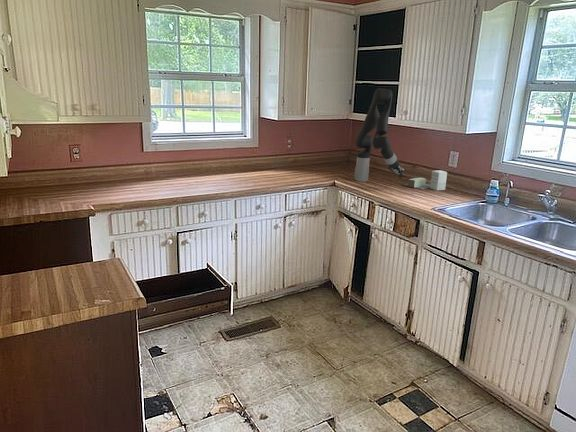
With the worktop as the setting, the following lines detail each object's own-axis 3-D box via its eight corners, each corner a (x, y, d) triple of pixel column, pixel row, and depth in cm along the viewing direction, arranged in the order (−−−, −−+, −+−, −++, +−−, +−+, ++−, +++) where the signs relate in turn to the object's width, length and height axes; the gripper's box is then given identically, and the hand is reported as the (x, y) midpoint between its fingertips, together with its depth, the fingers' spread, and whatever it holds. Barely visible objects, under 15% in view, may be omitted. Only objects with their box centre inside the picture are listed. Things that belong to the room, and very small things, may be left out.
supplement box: (438, 187, 313) (440, 170, 310) (445, 190, 307) (447, 172, 303) (429, 188, 311) (431, 170, 307) (436, 190, 304) (439, 172, 300)
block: (408, 179, 311) (419, 177, 319) (407, 186, 313) (419, 184, 320) (414, 180, 307) (425, 178, 315) (413, 187, 309) (425, 185, 317)
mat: (403, 185, 318) (403, 184, 318) (417, 182, 328) (417, 182, 328) (422, 189, 306) (422, 188, 306) (436, 186, 316) (436, 186, 316)
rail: (417, 182, 328) (418, 179, 327) (419, 182, 329) (419, 179, 328) (436, 186, 316) (437, 183, 316) (437, 186, 317) (438, 183, 316)
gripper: (402, 156, 286) (412, 173, 297) (386, 154, 296) (396, 170, 307) (396, 165, 284) (406, 182, 295) (380, 162, 294) (390, 179, 305)
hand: (401, 176), depth 301 cm, fingers closed
